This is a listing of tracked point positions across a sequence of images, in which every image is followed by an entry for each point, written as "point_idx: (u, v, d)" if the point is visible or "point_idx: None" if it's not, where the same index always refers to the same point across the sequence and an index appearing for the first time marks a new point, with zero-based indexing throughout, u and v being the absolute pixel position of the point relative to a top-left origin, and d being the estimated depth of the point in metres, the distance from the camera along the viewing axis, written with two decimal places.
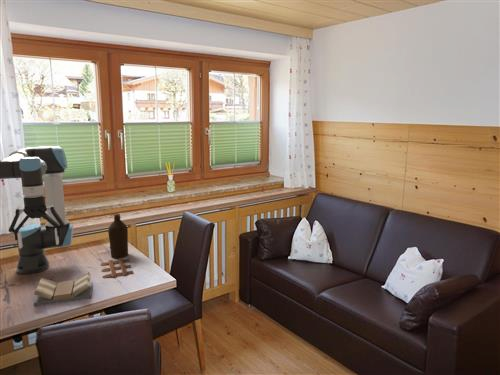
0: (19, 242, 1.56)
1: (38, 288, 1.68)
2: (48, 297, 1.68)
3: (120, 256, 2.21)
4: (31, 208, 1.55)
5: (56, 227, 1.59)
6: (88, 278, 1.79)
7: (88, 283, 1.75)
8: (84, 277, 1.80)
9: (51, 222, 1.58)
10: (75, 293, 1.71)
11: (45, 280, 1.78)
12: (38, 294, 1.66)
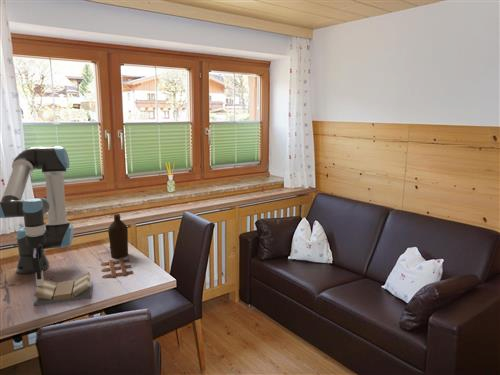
0: None
1: (37, 290, 1.68)
2: (48, 297, 1.68)
3: (120, 256, 2.21)
4: None
5: None
6: (88, 278, 1.79)
7: (88, 283, 1.75)
8: (84, 277, 1.80)
9: None
10: (75, 293, 1.71)
11: (44, 281, 1.78)
12: (38, 295, 1.66)
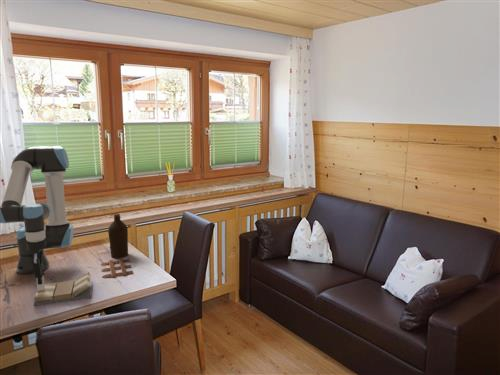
0: None
1: (36, 294, 1.68)
2: (49, 298, 1.68)
3: (120, 256, 2.21)
4: None
5: None
6: (88, 278, 1.79)
7: (88, 283, 1.75)
8: (84, 277, 1.80)
9: None
10: (75, 293, 1.71)
11: None
12: (38, 299, 1.67)
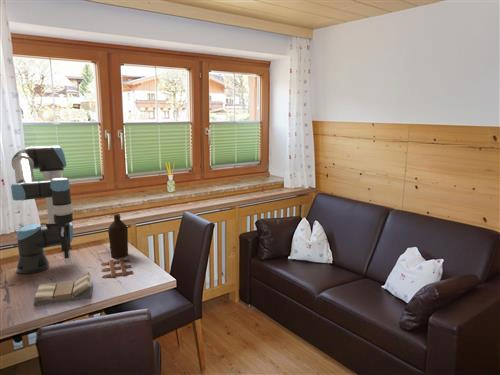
0: (64, 258, 1.73)
1: (36, 294, 1.68)
2: (49, 298, 1.68)
3: (120, 256, 2.21)
4: None
5: None
6: (88, 278, 1.79)
7: (88, 283, 1.75)
8: (84, 277, 1.80)
9: None
10: (75, 293, 1.71)
11: (44, 285, 1.78)
12: (38, 299, 1.67)
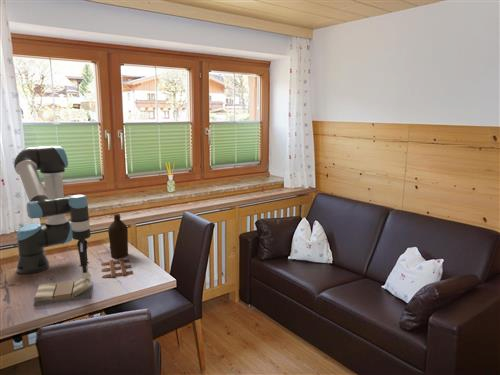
0: (82, 273, 1.78)
1: (36, 294, 1.68)
2: (49, 298, 1.68)
3: (120, 256, 2.21)
4: None
5: None
6: (88, 279, 1.79)
7: (88, 284, 1.75)
8: None
9: None
10: (75, 293, 1.71)
11: (44, 285, 1.78)
12: (38, 299, 1.67)
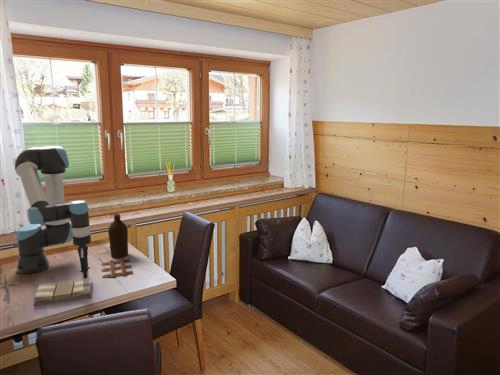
0: (82, 278, 1.78)
1: (36, 294, 1.68)
2: (49, 298, 1.68)
3: (120, 256, 2.21)
4: None
5: None
6: (90, 284, 1.80)
7: (90, 289, 1.76)
8: None
9: None
10: (74, 294, 1.71)
11: (44, 285, 1.78)
12: (38, 299, 1.67)
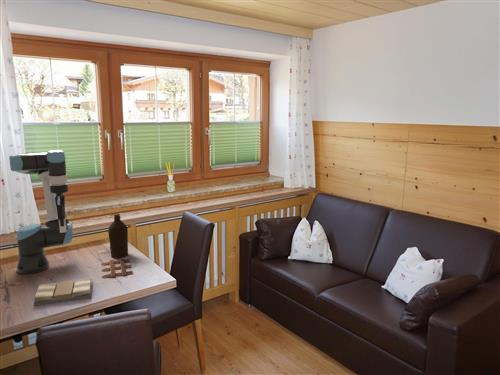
0: None
1: (36, 294, 1.68)
2: (49, 298, 1.68)
3: (120, 256, 2.21)
4: None
5: None
6: (90, 284, 1.80)
7: (90, 289, 1.76)
8: (86, 281, 1.81)
9: None
10: (74, 294, 1.71)
11: (44, 285, 1.78)
12: (38, 299, 1.67)
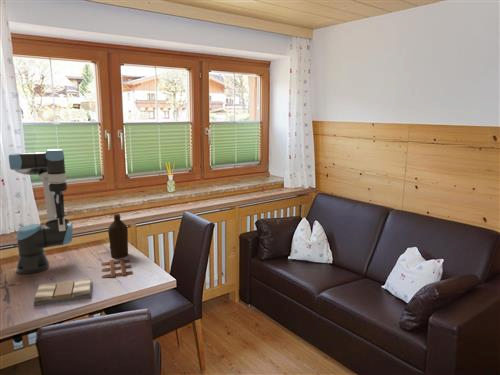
0: None
1: (36, 294, 1.68)
2: (49, 298, 1.68)
3: (120, 256, 2.21)
4: None
5: None
6: (90, 284, 1.80)
7: (90, 289, 1.76)
8: (86, 281, 1.81)
9: None
10: (74, 294, 1.71)
11: (44, 285, 1.78)
12: (38, 299, 1.67)
